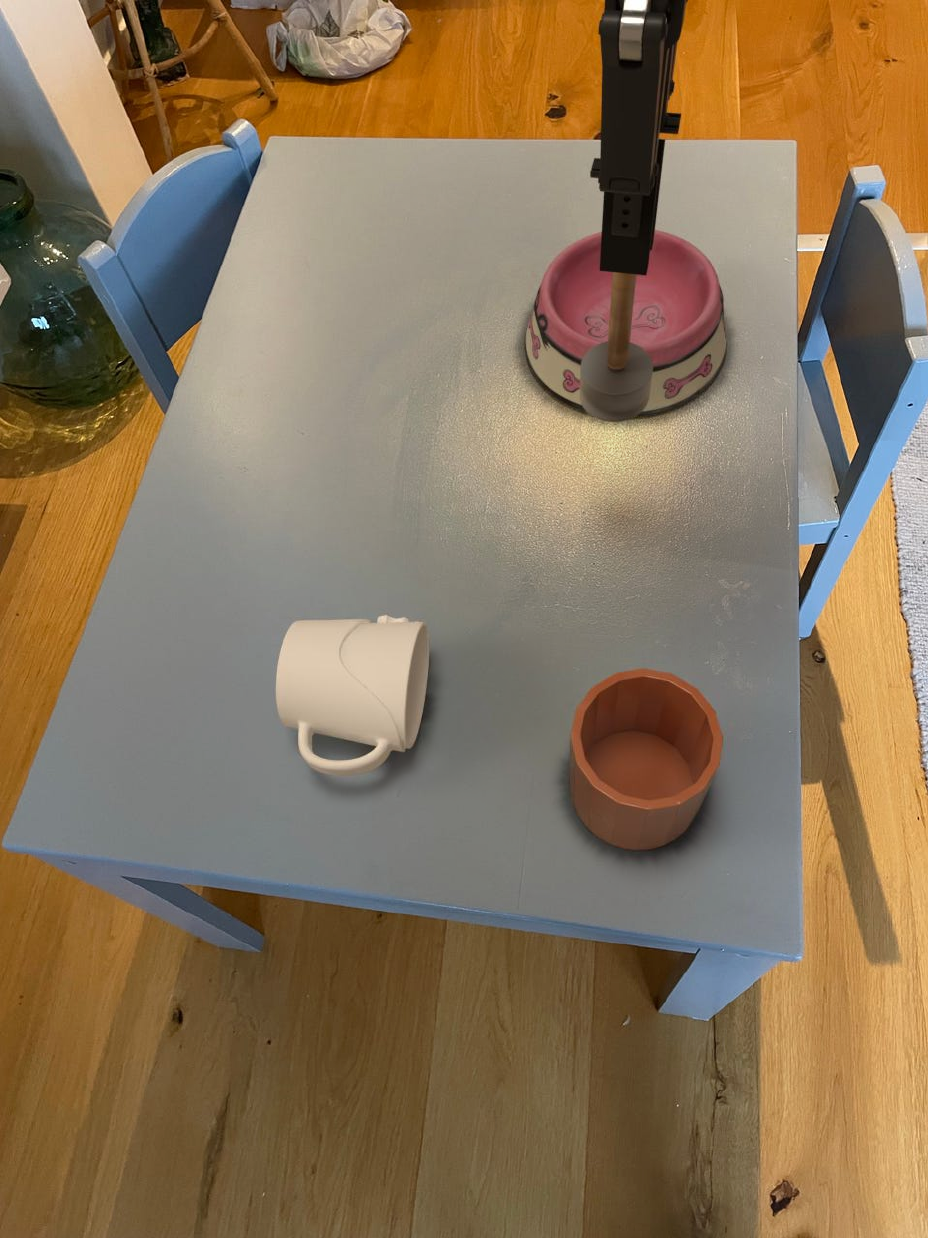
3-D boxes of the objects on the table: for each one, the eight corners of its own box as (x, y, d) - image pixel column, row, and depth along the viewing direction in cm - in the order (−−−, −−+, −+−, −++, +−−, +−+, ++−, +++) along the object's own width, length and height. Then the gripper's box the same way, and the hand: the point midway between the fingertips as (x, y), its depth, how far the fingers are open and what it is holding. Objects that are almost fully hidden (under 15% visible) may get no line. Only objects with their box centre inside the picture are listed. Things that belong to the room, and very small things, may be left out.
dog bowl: (513, 286, 91) (510, 227, 85) (701, 260, 91) (712, 199, 85) (538, 432, 82) (537, 378, 76) (748, 404, 82) (763, 347, 76)
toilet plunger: (653, 373, 65) (694, 77, 47) (643, 426, 63) (681, 138, 44) (586, 365, 66) (599, 71, 47) (573, 417, 64) (582, 131, 45)
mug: (319, 640, 74) (294, 591, 67) (434, 649, 73) (420, 600, 66) (286, 784, 69) (255, 746, 62) (409, 797, 68) (392, 760, 61)
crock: (708, 740, 68) (730, 684, 59) (690, 863, 64) (711, 823, 55) (583, 715, 69) (587, 657, 61) (558, 833, 65) (558, 790, 57)
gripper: (602, -357, 37) (584, 169, 58) (529, -180, 31) (538, 339, 52) (796, -361, 36) (706, 179, 57) (761, -176, 30) (674, 355, 50)
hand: (626, 255), depth 54 cm, fingers closed on toilet plunger
